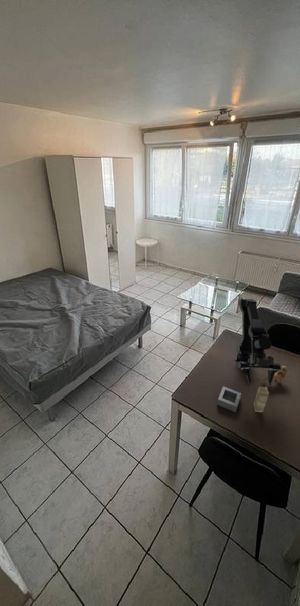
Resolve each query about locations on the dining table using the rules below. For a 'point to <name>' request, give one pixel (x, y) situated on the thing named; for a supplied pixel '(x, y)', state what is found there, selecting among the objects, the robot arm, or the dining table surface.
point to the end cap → (229, 399)
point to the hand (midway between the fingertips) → (259, 384)
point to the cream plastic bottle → (260, 399)
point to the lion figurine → (277, 375)
